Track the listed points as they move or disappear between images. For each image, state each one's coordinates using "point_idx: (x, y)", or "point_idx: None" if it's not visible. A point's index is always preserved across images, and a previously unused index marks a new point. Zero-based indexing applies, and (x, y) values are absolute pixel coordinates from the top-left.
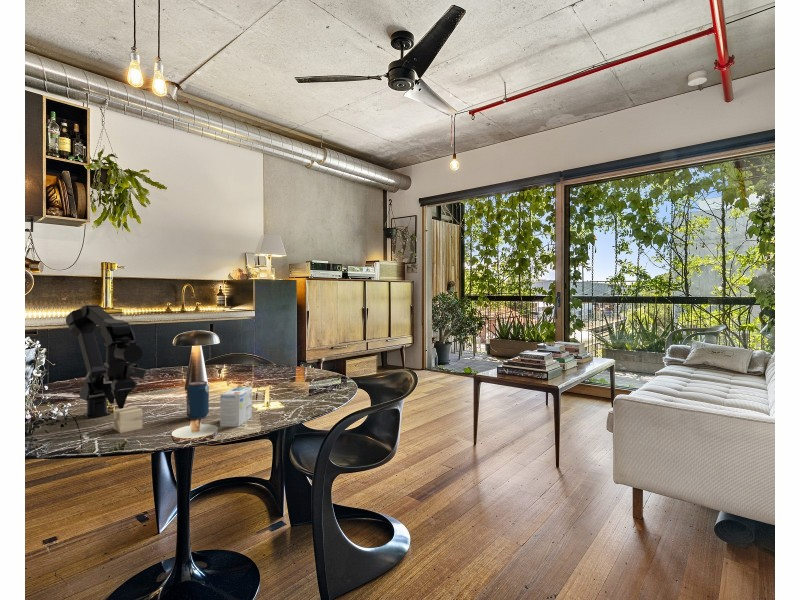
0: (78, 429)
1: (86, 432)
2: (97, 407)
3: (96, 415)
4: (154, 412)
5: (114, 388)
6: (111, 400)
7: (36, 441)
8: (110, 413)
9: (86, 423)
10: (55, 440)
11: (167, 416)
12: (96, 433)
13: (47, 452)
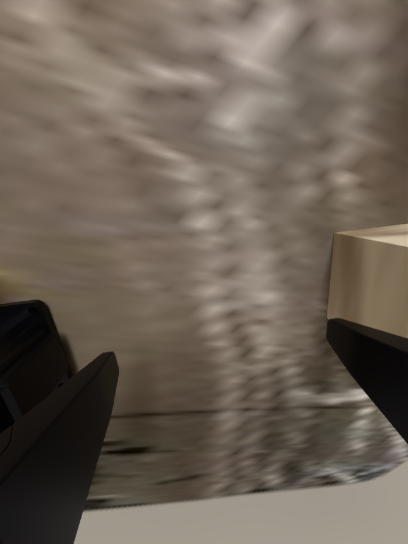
0: (231, 412)
1: (294, 394)
2: (39, 399)
3: (68, 365)
4: (148, 52)
5: None
6: (107, 385)
7: (277, 488)
8: (36, 301)
9: (157, 391)
10: (309, 456)
11: (327, 13)
12: (336, 370)
13: (401, 463)
